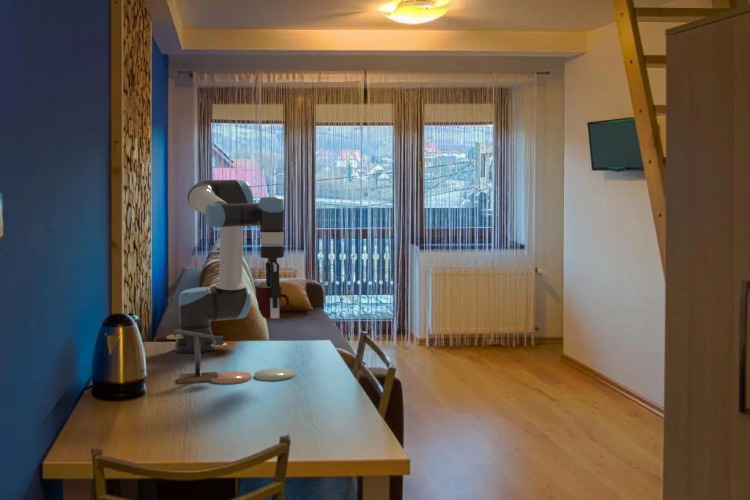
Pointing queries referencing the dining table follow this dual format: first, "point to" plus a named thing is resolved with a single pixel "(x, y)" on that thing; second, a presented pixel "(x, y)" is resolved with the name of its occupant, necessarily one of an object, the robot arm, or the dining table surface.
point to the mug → (267, 300)
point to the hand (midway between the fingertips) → (273, 316)
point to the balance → (198, 356)
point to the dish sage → (274, 374)
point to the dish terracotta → (231, 377)
